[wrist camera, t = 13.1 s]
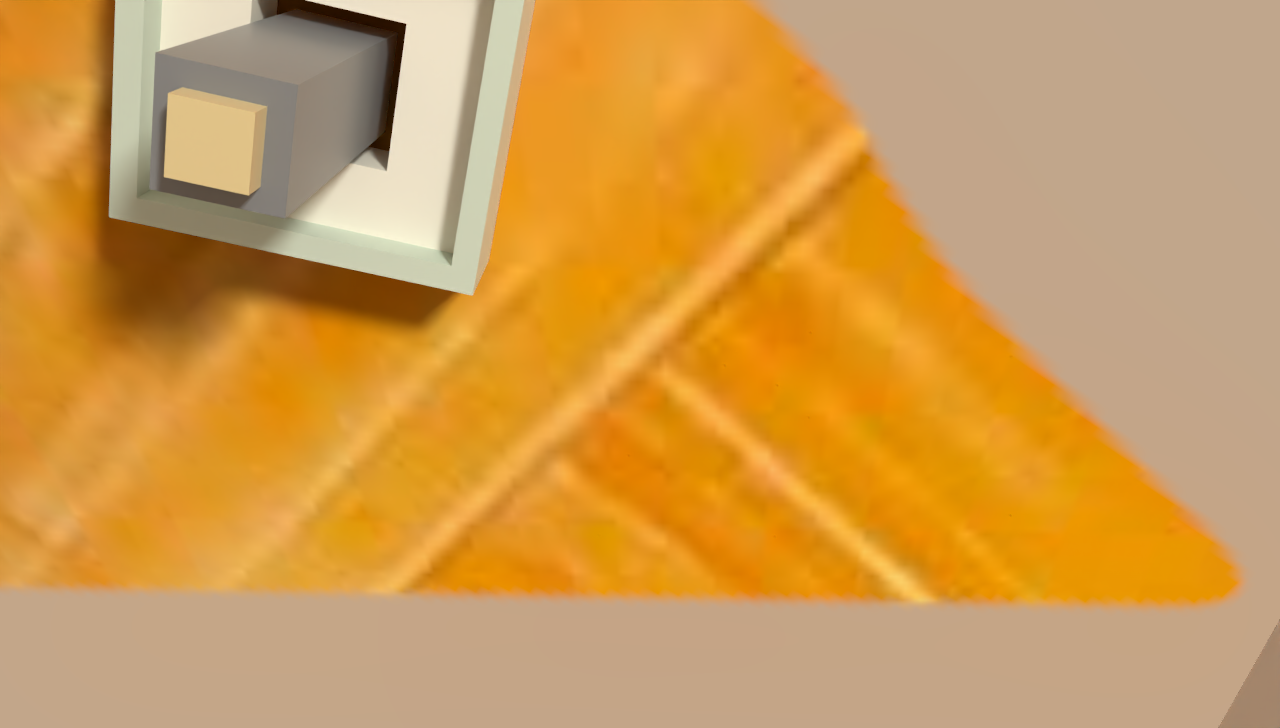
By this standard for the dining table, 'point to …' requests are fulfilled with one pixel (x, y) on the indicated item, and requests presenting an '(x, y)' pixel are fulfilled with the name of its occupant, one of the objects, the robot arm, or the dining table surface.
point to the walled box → (376, 179)
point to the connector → (268, 109)
